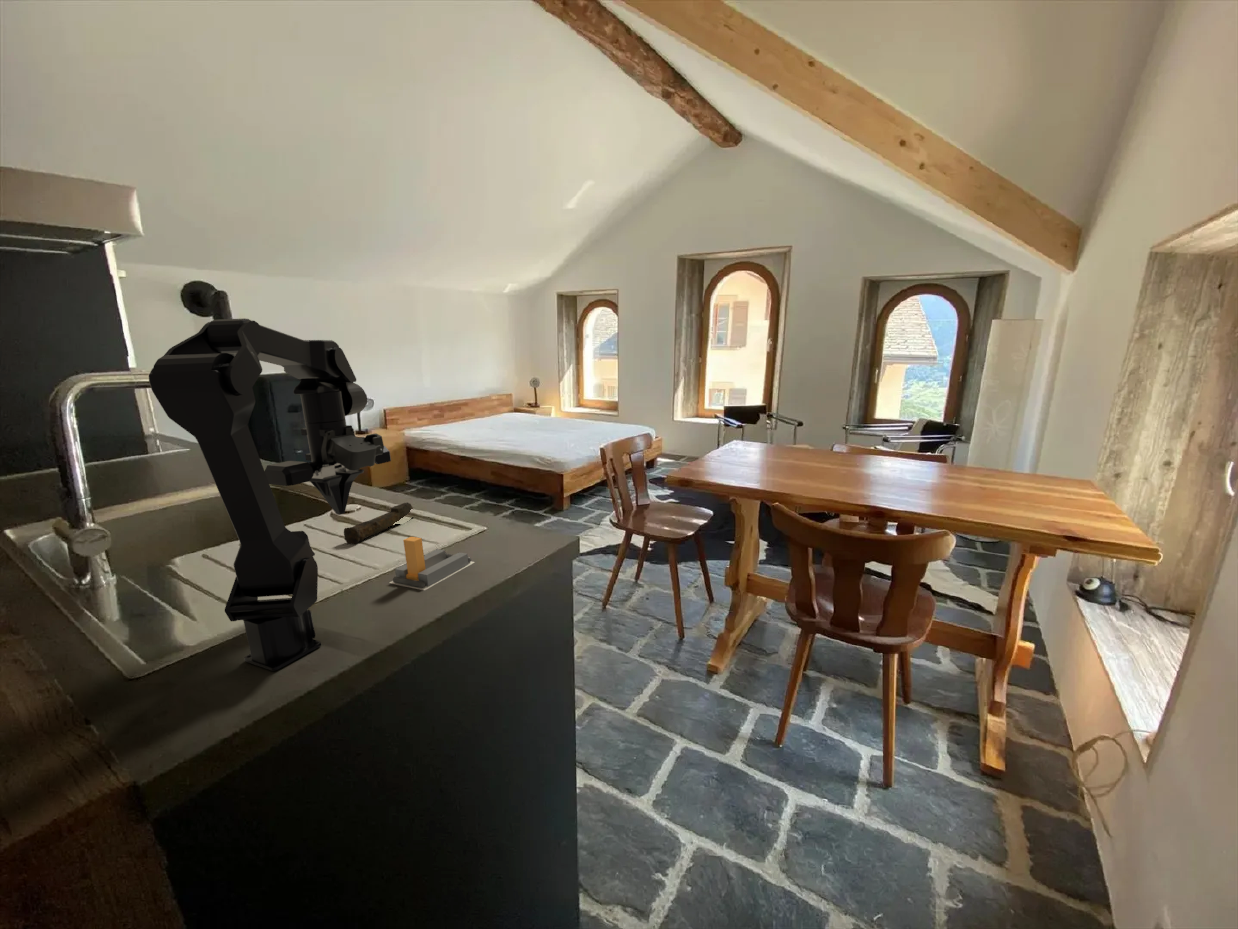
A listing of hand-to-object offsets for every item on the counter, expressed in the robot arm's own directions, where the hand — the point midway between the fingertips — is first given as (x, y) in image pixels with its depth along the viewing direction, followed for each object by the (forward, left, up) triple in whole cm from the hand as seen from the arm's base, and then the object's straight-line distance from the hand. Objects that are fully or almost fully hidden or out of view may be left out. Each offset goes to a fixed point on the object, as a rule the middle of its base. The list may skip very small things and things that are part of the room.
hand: (340, 514), depth 85 cm
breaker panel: (+7, -12, -13) cm, 19 cm away
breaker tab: (+3, -12, -12) cm, 17 cm away
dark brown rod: (+24, +21, -14) cm, 34 cm away
